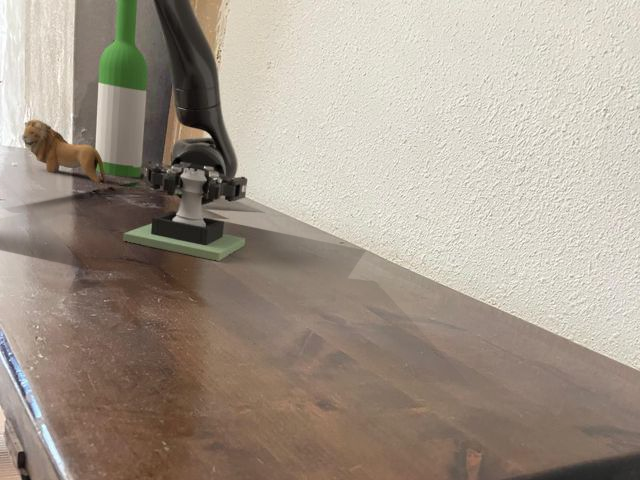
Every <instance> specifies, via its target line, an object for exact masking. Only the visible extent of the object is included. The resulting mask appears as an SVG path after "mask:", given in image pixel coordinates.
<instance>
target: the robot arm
mask: <svg viewBox="0 0 640 480" xmlns="http://www.w3.org/2000/svg"><path fill="white" fill-rule="evenodd" d="M152 1H153V4H154V7H155V11H156V14H157V18H158V22H159V26H160V29H161V33H162V36H163V41H164V44H165V50H166V54H167V59H168V65H169V66H168V67H169V72H170V79H171V87H172V94H173V102H174V110H175V115H176V118H177V121H178V122H179V123H180V124H181V125H182V126H184V127H187V128H191V129H196V130H200V131H203V132H205V133H206V134H208V135H209V136H210V137H197V138H196V137H195V138H194V137H192V138H182V139H178V140H176V141H175V142H174V144H173V145H172V147H171V151H170V152H171V153H170V165H166V166H165V167H164V168H161V167H160V164H159V163H155V162H152V160H147V161H144V166H143V182H144V183H145V184H146V185H147V186H148V187H149V188H151V189H153V190H160V189H161V188H162V189H161V190H162V191H164V192H166V195H167V196H174V195H176V196H177V197H178V198H179V199H180V200H181V199H182V190H181V188H182V187H183V181H182V179H181V177H180V176H181V175H182V174H183V172H184V168H189V170H190V168H192V169H194V172H195V171H197V170H202V171H205V175H204V176H205V177H206V179H207V181H206V182H205V183H204V184H203V187H202V190H203V192H204V193H203V194H202V199H201V206H204V205H209V204H210V203H214V202H215V201H218V200H221V197H224V200H225V201H227V202H235V201H239V200H243V199H245V198H246V193H247V188H248V187H247V186H248V178H246V177H245V176H239V177H236V175H237V173H238V170H239V162H238V161H239V160H238V156H237V153H236V149H235V147H234V145H233V142H232V139H231V137H230V135H229V131H228V128H227V126H226V122H225V119H224V113H223V108H222V102H221V100H222V99H221V88H220V76H219V70H218V64H217V61H216V58H215V57H216V56H215V55H214V52H213V50H212V46H211V45H210V43H209V41H208V38H207V36H206V33H205V32H204V30H203V28H202V25H201V24H200V22H199V20H198V17H197V15H196V14H195V11H194V8H193V6H192V3H191V0H152ZM202 171H201V172H202Z"/></svg>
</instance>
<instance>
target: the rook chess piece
mask: <svg viewBox="0 0 640 480" xmlns="http://www.w3.org/2000/svg"><path fill="white" fill-rule="evenodd" d="M201 171H202V170H197V171H195V172H194V169H192V168H190V170H189V168H184V172H183V174H182V175H181V176H180V177H181V179H182V181H183V187H182V188H181V190H182V199H181V198H180V202H179V203H180V204H179V207H178V210H177V212H178V213H176V217H175V218H173V220H172V221H176V222H181V223H186V224H191V225H195V226H200V227H203V228H204V227H206V223H205V222H204V221H203V218H205V216H203V212H202V211H203V209H202V206H203V205H201V199H202V194H203V193H204V192H203V190H202V187H203V184H204V183H205V182H206V181H207V179H206V177H205V176H204V175H205V171H202V172H201Z"/></svg>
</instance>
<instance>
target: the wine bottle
mask: <svg viewBox="0 0 640 480" xmlns="http://www.w3.org/2000/svg"><path fill="white" fill-rule="evenodd" d="M137 7H138V0H117V10H116V30H115V38H114V39H115V40H114V41H113V43H111V44H109V46H107V47H106V48H105V49H104V51H103V52H102V54H101V56H100V59H99V68H98V86H97V104H96V105H97V108H96V127H95V128H96V129H95V147H94V148H95V149H96V150H97V152H98V153H99V155H100V157H101V160H102V163H103V168H104V173H105V175H109V176H115V177H123V178H125V177H126V178H140V177H141V175H142V165H143V164H142V163H143V148H144V147H143V146H144V132H145V120H146V119H145V117H146V106H147V105H146V103H147V87H148V86H147V85H148V66H147V61H146V59H145V57H144V55H143V53H142V52H141V50H139V48H138V47H137V45H136V31H137V30H136V28H137V12H138V11H137V9H138V8H137ZM96 172H98V173H101V172H100V168H99V164H98V165H97V169H96ZM139 184H140V180H139V181H133V182H127V183H123V184H119V185H117V186H119V187H136V186H138V185H139Z"/></svg>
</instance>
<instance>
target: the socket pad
mask: <svg viewBox="0 0 640 480" xmlns="http://www.w3.org/2000/svg"><path fill="white" fill-rule="evenodd" d="M176 213H178V211H174V210H172V211H169V212H166V213H163V214H159V215H156V216H153V217H152V218H151V223H149V224H146V225H143V226H140V227H138V228H135V229H132V230H129V231H126V232H123V242H125V241H127V242H126V243H130V242H131V243H130V244H134V243H135V245H139V244H140V245H139V246H144V247H149V248H152V249H153V248H154V249H159V250H164V251H167V252H173V253H177V254H182V255H187V256H191V257H192V256H193V257H196V258H202V259H206V260H210V259H211V261H215V260H216V262H220V261H221V260H223V259H225V258H227V257H228V256H230V255H231V254H233V253H235V252H236V251H238V250H240V249H242V248H243V247H245V245H246V238H245V237H241V236H236V235H231V234H228V233H227V234H226V233H224V227H225V222H224V221H222V220H217V219H212V218H207V217H204V218H203V221H204V222H205V223H206V227H204V228H203V227H200V226H195V225H191V224H186V223H181V222H176V221H172V220H173V218H175V217H176ZM234 251H235V252H234ZM229 254H230V255H229Z"/></svg>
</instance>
